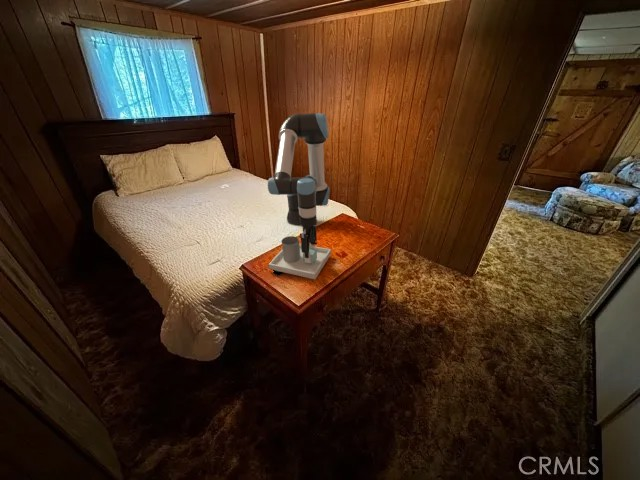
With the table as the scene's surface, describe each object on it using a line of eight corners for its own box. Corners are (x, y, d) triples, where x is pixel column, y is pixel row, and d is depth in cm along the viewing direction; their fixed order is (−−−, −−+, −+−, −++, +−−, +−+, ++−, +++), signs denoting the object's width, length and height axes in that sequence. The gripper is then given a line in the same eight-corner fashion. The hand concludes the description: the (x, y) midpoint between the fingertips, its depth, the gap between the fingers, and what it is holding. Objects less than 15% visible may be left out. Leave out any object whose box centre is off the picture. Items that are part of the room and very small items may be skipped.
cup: (297, 263, 121) (296, 245, 116) (281, 261, 123) (279, 244, 118) (302, 253, 129) (300, 236, 124) (286, 252, 130) (284, 235, 125)
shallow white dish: (290, 248, 138) (289, 241, 136) (331, 256, 130) (331, 249, 128) (269, 271, 120) (268, 264, 118) (315, 282, 113) (314, 274, 111)
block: (307, 256, 125) (307, 247, 122) (317, 258, 123) (316, 249, 121) (303, 261, 121) (302, 252, 118) (313, 263, 119) (312, 254, 116)
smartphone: (257, 266, 125) (278, 277, 117) (257, 264, 125) (278, 275, 116) (269, 259, 130) (289, 269, 122) (269, 257, 130) (289, 268, 121)
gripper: (308, 206, 119) (310, 248, 130) (290, 222, 104) (295, 268, 116) (323, 208, 116) (324, 251, 128) (307, 224, 102) (310, 271, 113)
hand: (310, 259), depth 122 cm, fingers closed on block, 5 cm apart
